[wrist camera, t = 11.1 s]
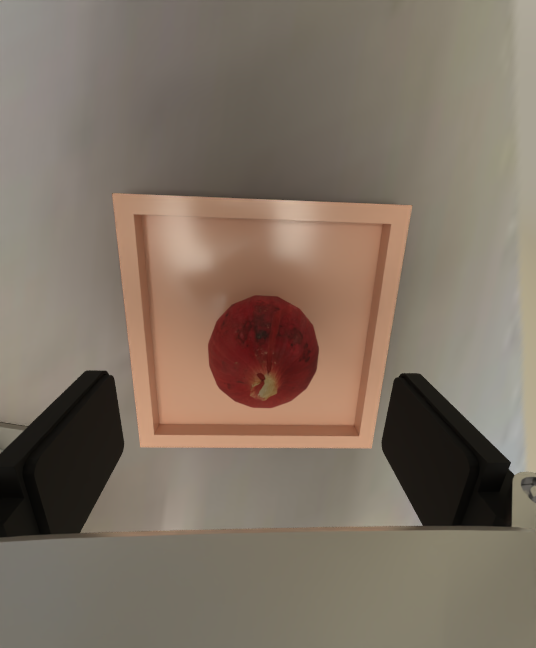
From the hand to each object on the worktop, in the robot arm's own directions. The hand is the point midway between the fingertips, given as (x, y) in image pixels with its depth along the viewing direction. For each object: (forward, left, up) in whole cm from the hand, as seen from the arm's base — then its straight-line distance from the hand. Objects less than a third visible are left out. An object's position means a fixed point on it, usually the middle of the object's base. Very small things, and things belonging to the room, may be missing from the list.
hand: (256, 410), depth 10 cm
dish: (+1, 0, -11) cm, 11 cm away
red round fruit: (+1, 0, -10) cm, 10 cm away
